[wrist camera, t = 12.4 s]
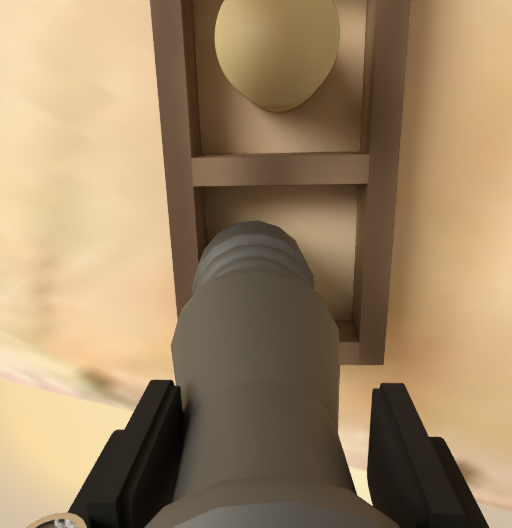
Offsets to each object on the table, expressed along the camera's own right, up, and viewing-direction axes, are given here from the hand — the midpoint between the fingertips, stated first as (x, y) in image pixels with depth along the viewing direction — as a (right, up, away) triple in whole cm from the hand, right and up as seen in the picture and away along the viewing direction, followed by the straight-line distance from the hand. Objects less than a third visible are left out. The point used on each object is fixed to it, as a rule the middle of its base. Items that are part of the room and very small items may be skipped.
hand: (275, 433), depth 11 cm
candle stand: (+1, +10, +15) cm, 18 cm away
